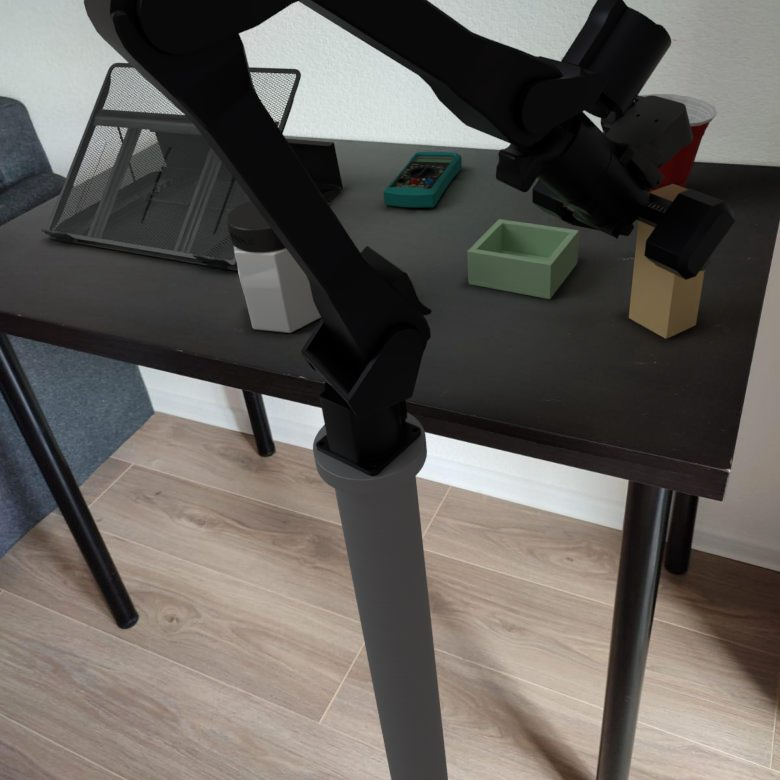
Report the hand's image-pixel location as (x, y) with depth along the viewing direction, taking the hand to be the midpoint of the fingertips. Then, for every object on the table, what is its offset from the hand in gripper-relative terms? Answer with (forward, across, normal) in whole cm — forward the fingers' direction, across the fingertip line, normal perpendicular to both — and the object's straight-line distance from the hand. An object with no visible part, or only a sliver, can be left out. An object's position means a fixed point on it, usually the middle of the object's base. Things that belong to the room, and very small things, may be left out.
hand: (666, 247), depth 72 cm
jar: (-14, +26, +26) cm, 40 cm away
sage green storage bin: (+3, +17, +8) cm, 19 cm away
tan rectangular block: (+6, 0, +6) cm, 8 cm away
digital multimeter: (+7, +45, +5) cm, 46 cm away
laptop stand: (-14, +60, +26) cm, 66 cm away
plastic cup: (+21, +21, -9) cm, 31 cm away
